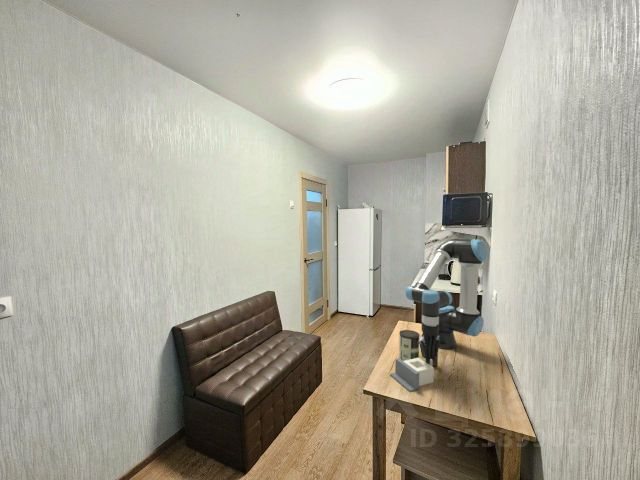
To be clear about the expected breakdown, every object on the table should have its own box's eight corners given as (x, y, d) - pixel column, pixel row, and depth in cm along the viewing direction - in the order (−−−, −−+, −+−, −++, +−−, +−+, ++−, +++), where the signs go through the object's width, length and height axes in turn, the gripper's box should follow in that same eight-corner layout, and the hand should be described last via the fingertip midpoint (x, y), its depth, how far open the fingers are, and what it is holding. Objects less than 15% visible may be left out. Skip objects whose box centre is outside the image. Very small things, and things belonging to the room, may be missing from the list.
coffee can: (417, 355, 150) (417, 330, 149) (420, 364, 140) (421, 338, 139) (398, 353, 152) (398, 329, 151) (399, 362, 142) (400, 336, 141)
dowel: (434, 364, 140) (435, 334, 139) (439, 367, 137) (440, 336, 136) (429, 365, 139) (430, 335, 138) (434, 368, 136) (435, 337, 135)
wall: (398, 373, 132) (399, 358, 131) (418, 389, 119) (419, 372, 118) (390, 375, 130) (390, 360, 129) (409, 392, 117) (410, 375, 116)
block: (418, 371, 133) (418, 357, 133) (433, 382, 124) (433, 367, 124) (401, 375, 130) (401, 361, 129) (415, 386, 120) (416, 371, 120)
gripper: (434, 319, 134) (433, 365, 135) (414, 322, 129) (413, 370, 131) (446, 324, 127) (445, 373, 128) (425, 328, 122) (424, 378, 124)
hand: (429, 371), depth 129 cm, fingers closed
